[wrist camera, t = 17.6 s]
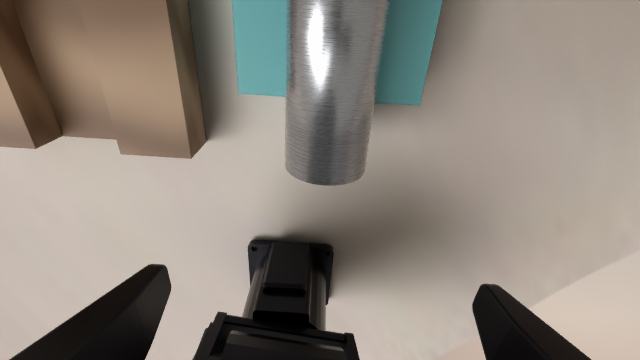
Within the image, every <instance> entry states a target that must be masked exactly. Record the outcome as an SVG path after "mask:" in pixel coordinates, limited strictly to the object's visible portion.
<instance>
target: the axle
mask: <svg viewBox="0 0 640 360" xmlns="http://www.w3.org/2000/svg"><path fill="white" fill-rule="evenodd" d="M389 6H390V0H287V6H286V128H285V167H286V169H287V171H288V172H289V173H290V174H291V175H292V176H294V177H296V178H297V179H300V180H302V181H305V182H308V183H312V184H317V185H342V184H347V183H351V182H353V181H356V180H357V179H359V178H360V177H361V176H362V175H363V173H364V170H365V163H366V156H367V150H368V143H369V137H370V130H371V124H372V117H373V111H374V104H375V98H376V91H377V84H378V78H379V71H380V65H381V58H382V52H383V45H384V39H385V32H386V25H387V19H388V12H389Z"/></svg>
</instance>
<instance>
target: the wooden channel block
mask: <svg viewBox="0 0 640 360" xmlns="http://www.w3.org/2000/svg"><path fill="white" fill-rule="evenodd" d="M61 136H70V137H86V138H102V139H117V143H118V146H119V150H120V153H121V154H126V155H142V156H158V157H174V158H190V159H191V158H192V157H193V156H194V155H195V154H196V153H197V152H198V151H199V149H200V148H201V147H202V146H203V145H204V144H205V143H206V136H205V128H204V121H203V113H202V105H201V98H200V90H199V82H198V74H197V67H196V59H195V51H194V44H193V36H192V28H191V21H190V13H189V5H188V0H0V147H15V148H31V149H36V148H38V147H40V146H42V145H45V144H47V143H49V142H51V141H53V140H55V139H57V138H59V137H61Z"/></svg>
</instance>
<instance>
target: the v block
mask: <svg viewBox="0 0 640 360" xmlns="http://www.w3.org/2000/svg"><path fill="white" fill-rule="evenodd" d="M442 2H443V0H390V6H389V12H388V19H387V25H386V32H385V39H384V45H383V52H382V58H381V65H380V71H379V78H378V84H377V91H376V98H375V103H388V104H403V105H419V106H420V101H421V97H422V92H423V88H424V83H425V79H426V74H427V70H428V65H429V61H430V56H431V52H432V47H433V43H434V38H435V34H436V29H437V25H438V20H439V15H440V11H441V6H442ZM286 6H287V0H232V7H233V21H234V36H235V50H236V65H237V79H238V94H251V95H266V96H282V97H286Z"/></svg>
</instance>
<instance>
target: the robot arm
mask: <svg viewBox="0 0 640 360" xmlns="http://www.w3.org/2000/svg"><path fill="white" fill-rule="evenodd" d="M253 246H256V247H257V248H254V247H253ZM325 251H329V252H325ZM248 258H249V272H250V286H251V287H250V290H249V294H248V297H247V301H246V305H245V308H244V312H243V316H242V317H238V316H232V315H227V313H224V312H218V313H217V315H216V317H215V320H214V322H213V323H212V322H211V323H210V325H209V327H208V328H206V329H205V331H204V334H203V336H202V339H201V342H200V344H199V347H198V349H197V352H196V354H195V356H194V357H193V359H192V360H360V359H359V355H358V351H357V347H356V343H355V339H354V335H353V334H352V333H344V334H342V333H336V332H330V331H325V315H326V305H327V304H328V299H329V290H330V281H331V271H332V262H333V247H332V246H331V245H327V244H310V243H293V242H277V241H260V240H253V241H251V242H250V243H249V246H248ZM170 292H171V283H170V279H169V275H168V271H167V267H166V266H165V265H162V264H150V265H148V266H146V267H144V268H143V269H142V270H140V271H139V272H137V273H136V274H134V275H133V276H131V277H130V278H128V279H127V280H125V281H124V282H122V283H121V284H120V285H118V286H117V287H115V288H114V289H112V290H111V291H109V292H108V293H106V294H105V295H103V296H102V297H100V298H99V299H98V300H96V301H95V302H93V303H92V304H90V305H89V306H87V307H86V308H84V309H83V310H81V311H80V312H78V313H77V314H76V315H74V316H73V317H71V318H70V319H68V320H67V321H65V322H64V323H62V324H61V325H59V326H58V327H56V328H55V329H54V330H52V331H51V332H49V333H48V334H46V335H45V336H43V337H42V338H40V339H39V340H37V341H36V342H34V343H33V344H32V345H30V346H29V347H27V348H26V349H24V350H23V351H21V352H20V353H18V354H17V355H15V356H14V357H12V358H11V359H10V360H145V358H146V356H147V354H148V351H149V349H150V347H151V344H152V342H153V339H154V337H155V334H156V331H157V328H158V326H159V323H160V320H161V317H162V314H163V312H164V309H165V306H166V303H167V301H168V298H169V295H170ZM472 309H473V314H474V317H475V321H476V325H477V328H478V332H479V335H480V339H481V343H482V346H483V350H484V354H485V357H486V360H591V359H590V358H589V357H587V356H586V355H585V354H584V353H582V352H581V351H580V350H579V349H577V348H576V347H575V346H574V345H572V344H571V343H570V342H569V341H567V340H566V339H565V338H564V337H562V336H561V335H560V334H559V333H557V332H556V331H555V330H554V329H552V328H551V327H550V326H549V325H547V324H546V323H545V322H544V321H542V320H541V319H540V318H539V317H537V316H536V315H535V314H534V313H532V312H531V311H530V310H529V309H527V308H526V307H525V306H524V305H522V304H521V303H520V302H519V301H517V300H516V299H515V298H514V297H512V296H511V295H510V294H509V293H507V292H506V291H505V290H504V289H502V288H501V287H500V286H498V285H495V284H482V285H481V286H480V288H479V290H478V292H477V294H476V297H475V299H474V301H473V305H472Z"/></svg>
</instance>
